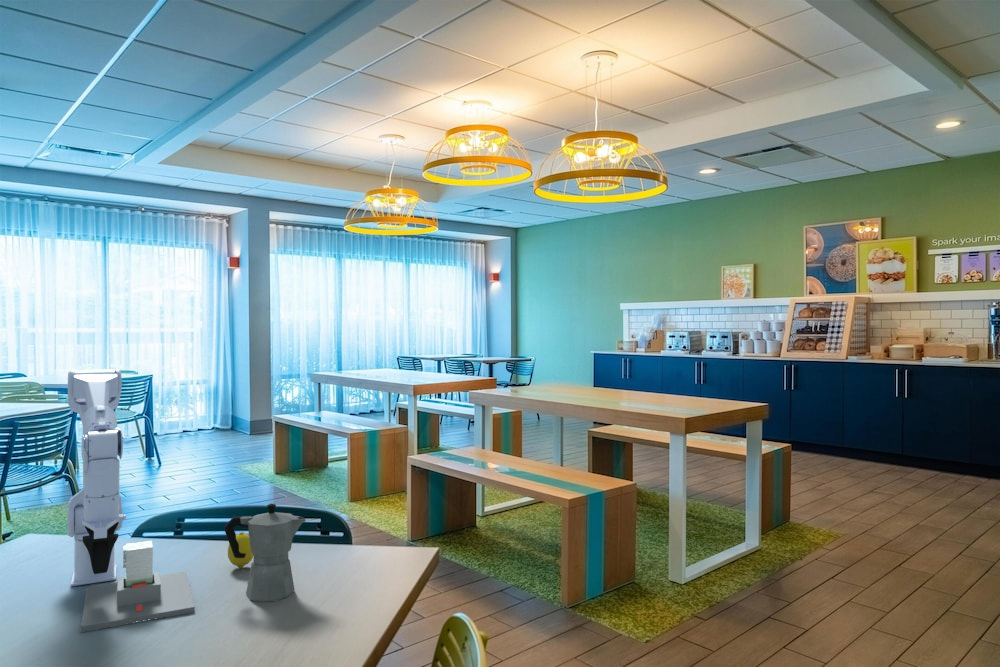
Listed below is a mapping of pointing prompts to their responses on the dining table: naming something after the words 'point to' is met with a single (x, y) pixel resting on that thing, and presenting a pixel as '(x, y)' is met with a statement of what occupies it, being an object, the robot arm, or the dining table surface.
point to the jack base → (136, 601)
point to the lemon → (241, 550)
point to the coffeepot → (267, 552)
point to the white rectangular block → (138, 563)
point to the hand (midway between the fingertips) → (101, 566)
